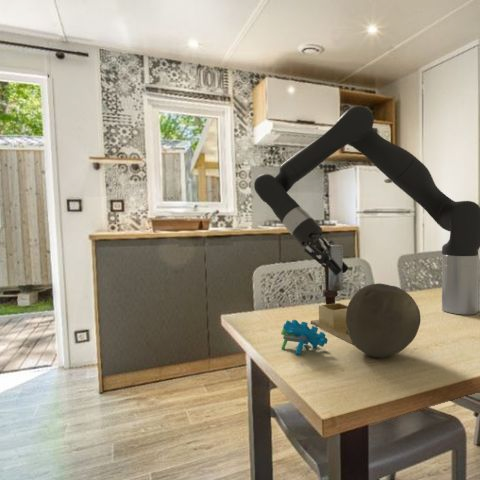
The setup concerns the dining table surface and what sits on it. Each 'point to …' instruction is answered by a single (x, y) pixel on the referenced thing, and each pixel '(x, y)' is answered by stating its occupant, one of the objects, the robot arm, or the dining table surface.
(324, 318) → the hinge leaf
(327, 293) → the bolt
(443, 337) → the dining table surface
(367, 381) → the dining table surface
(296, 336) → the blue lobed toy
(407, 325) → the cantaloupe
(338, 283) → the pin
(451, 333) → the dining table surface
